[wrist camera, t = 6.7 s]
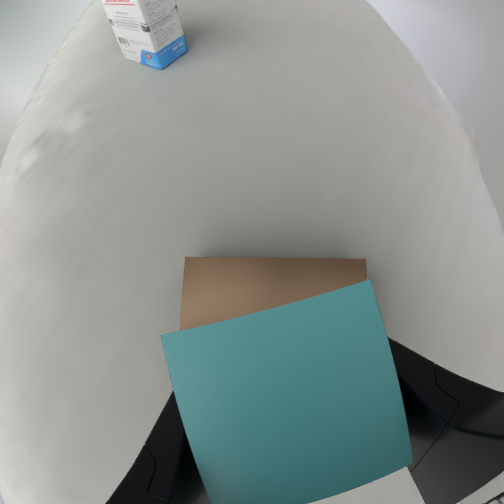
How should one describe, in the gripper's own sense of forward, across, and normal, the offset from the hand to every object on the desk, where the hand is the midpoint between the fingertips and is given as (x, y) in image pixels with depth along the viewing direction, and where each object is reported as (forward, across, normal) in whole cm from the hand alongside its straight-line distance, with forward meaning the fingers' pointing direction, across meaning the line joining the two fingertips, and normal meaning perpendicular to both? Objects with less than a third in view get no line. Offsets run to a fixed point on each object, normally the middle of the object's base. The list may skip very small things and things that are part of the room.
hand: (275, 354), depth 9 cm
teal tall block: (+4, 0, +6) cm, 7 cm away
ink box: (+34, +5, -18) cm, 38 cm away
